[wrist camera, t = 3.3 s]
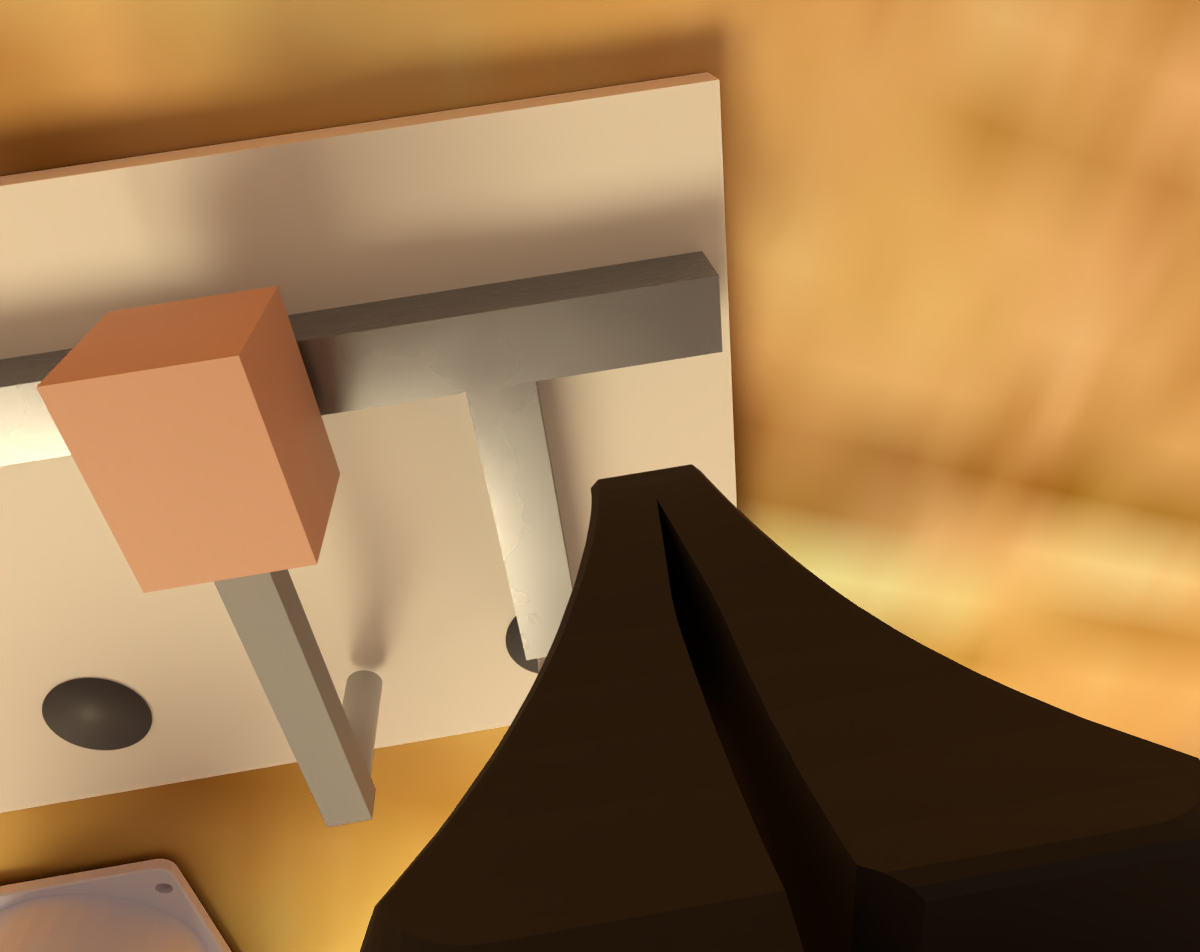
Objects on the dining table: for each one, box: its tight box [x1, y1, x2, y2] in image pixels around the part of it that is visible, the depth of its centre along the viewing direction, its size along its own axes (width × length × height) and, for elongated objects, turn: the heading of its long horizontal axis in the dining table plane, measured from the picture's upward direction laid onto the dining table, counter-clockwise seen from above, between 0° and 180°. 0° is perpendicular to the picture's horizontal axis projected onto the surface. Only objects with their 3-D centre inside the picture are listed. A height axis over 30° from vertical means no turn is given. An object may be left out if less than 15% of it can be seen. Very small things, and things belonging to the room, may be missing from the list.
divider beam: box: [0, 251, 723, 671], centre depth 20 cm, size 10×23×2 cm, turn 97°
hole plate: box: [0, 72, 737, 813], centre depth 21 cm, size 16×24×1 cm, turn 97°
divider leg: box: [36, 286, 382, 827], centre depth 18 cm, size 11×3×4 cm, turn 7°
